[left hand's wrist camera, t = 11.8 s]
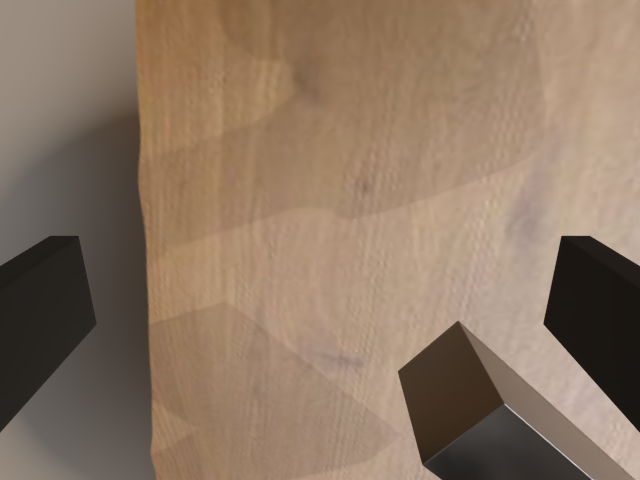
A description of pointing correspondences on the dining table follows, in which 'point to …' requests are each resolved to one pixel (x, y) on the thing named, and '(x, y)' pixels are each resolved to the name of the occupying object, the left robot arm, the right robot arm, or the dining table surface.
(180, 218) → the dining table surface
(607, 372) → the left robot arm
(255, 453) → the dining table surface
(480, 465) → the bar
